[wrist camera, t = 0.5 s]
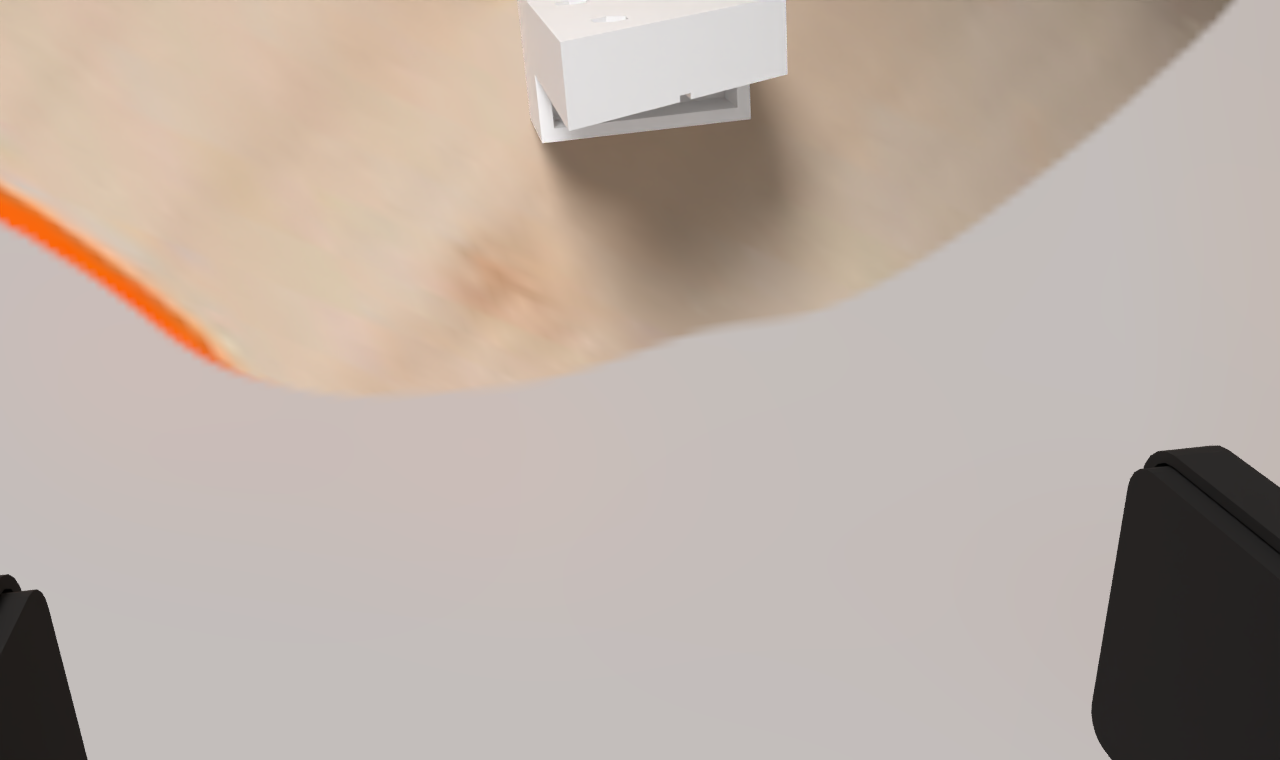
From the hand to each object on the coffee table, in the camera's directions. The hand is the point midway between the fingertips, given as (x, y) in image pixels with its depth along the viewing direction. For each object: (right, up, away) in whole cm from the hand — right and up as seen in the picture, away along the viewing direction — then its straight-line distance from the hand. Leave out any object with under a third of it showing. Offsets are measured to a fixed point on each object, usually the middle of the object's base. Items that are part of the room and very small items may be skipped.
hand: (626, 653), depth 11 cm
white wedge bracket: (0, +12, +25) cm, 27 cm away
